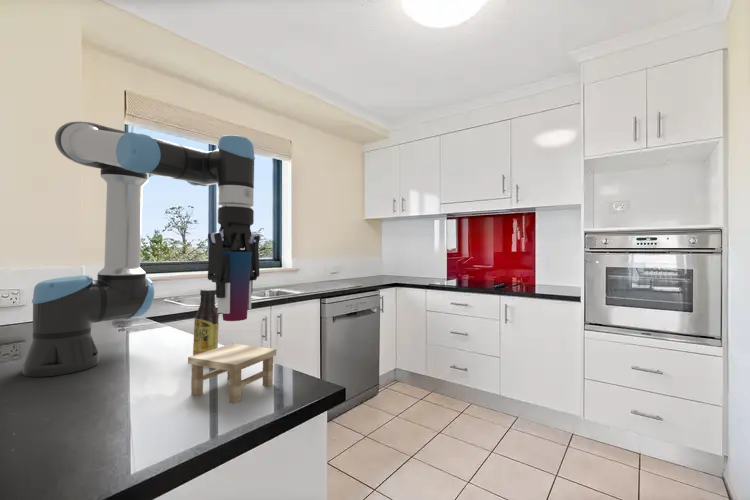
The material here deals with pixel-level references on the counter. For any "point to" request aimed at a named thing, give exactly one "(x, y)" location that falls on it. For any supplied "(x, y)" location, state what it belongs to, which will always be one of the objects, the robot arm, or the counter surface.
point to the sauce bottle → (206, 323)
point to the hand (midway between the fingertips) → (234, 310)
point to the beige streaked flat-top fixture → (232, 367)
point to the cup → (238, 285)
